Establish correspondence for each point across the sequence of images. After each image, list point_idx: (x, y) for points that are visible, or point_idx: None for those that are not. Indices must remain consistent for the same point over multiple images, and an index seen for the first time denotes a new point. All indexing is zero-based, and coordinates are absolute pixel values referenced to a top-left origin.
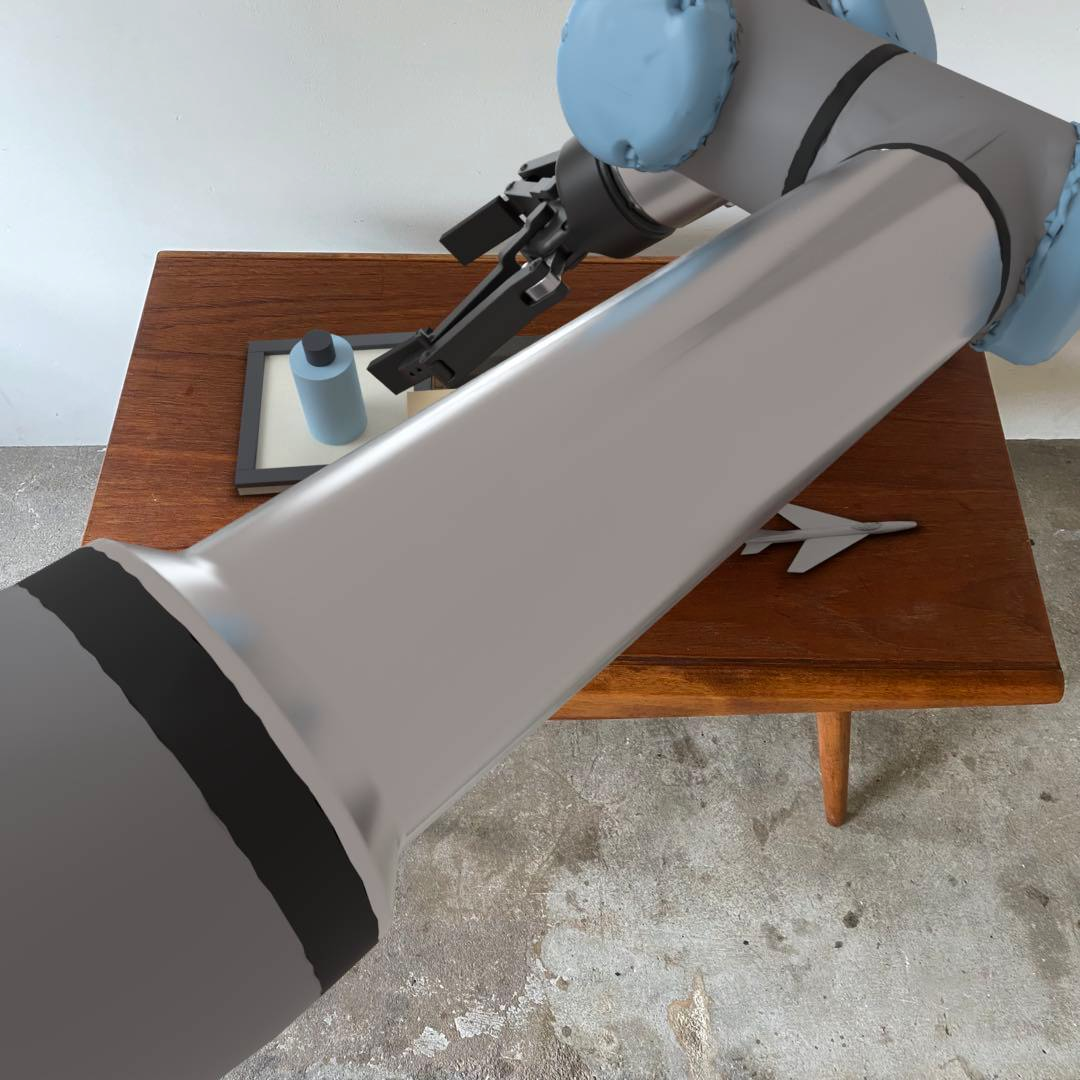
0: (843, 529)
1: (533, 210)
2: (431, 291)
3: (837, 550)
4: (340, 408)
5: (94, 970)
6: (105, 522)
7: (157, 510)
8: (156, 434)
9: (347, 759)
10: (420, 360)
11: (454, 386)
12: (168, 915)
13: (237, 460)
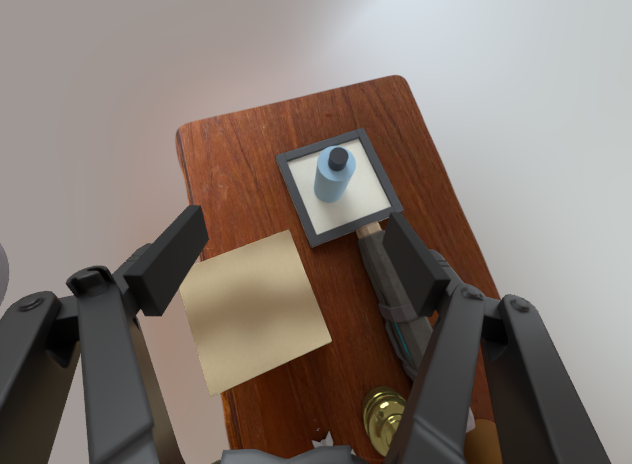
0: None
1: (423, 365)
2: (435, 201)
3: None
4: (320, 187)
5: None
6: (246, 112)
7: (258, 130)
8: (299, 112)
9: None
10: (23, 297)
11: (362, 241)
12: None
13: (289, 151)
